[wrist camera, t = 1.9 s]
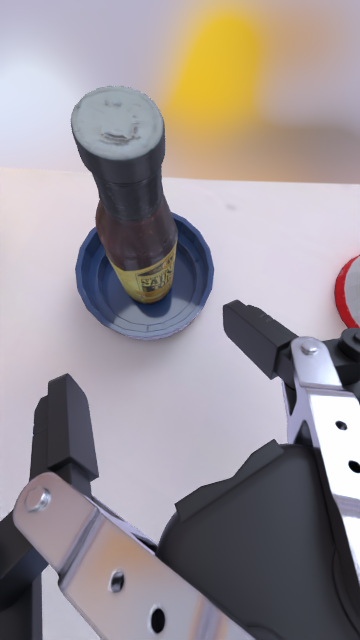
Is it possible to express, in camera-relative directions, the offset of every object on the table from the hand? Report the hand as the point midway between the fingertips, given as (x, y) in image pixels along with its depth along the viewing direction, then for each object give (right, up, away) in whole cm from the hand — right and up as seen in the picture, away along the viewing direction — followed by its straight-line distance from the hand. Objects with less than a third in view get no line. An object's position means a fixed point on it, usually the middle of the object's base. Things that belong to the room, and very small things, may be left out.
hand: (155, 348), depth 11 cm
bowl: (-3, +6, +18) cm, 20 cm away
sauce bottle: (-3, +6, +18) cm, 19 cm away
